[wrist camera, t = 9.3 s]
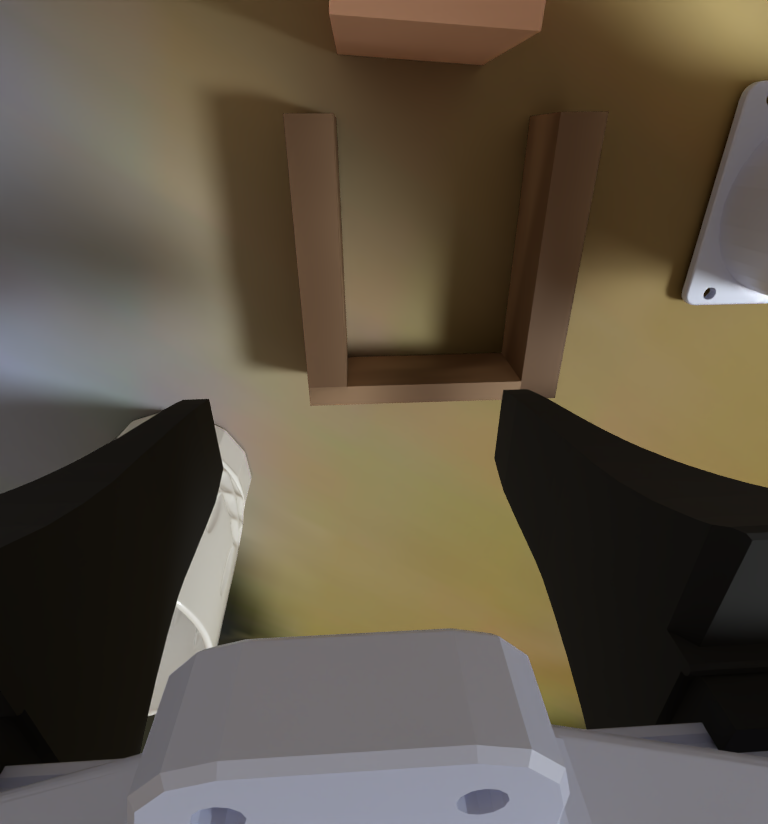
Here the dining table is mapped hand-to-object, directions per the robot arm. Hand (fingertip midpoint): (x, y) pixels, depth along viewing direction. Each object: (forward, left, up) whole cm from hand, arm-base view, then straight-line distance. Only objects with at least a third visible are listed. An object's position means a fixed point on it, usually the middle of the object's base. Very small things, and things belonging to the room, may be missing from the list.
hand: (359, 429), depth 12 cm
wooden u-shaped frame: (-3, -2, -10) cm, 11 cm away
